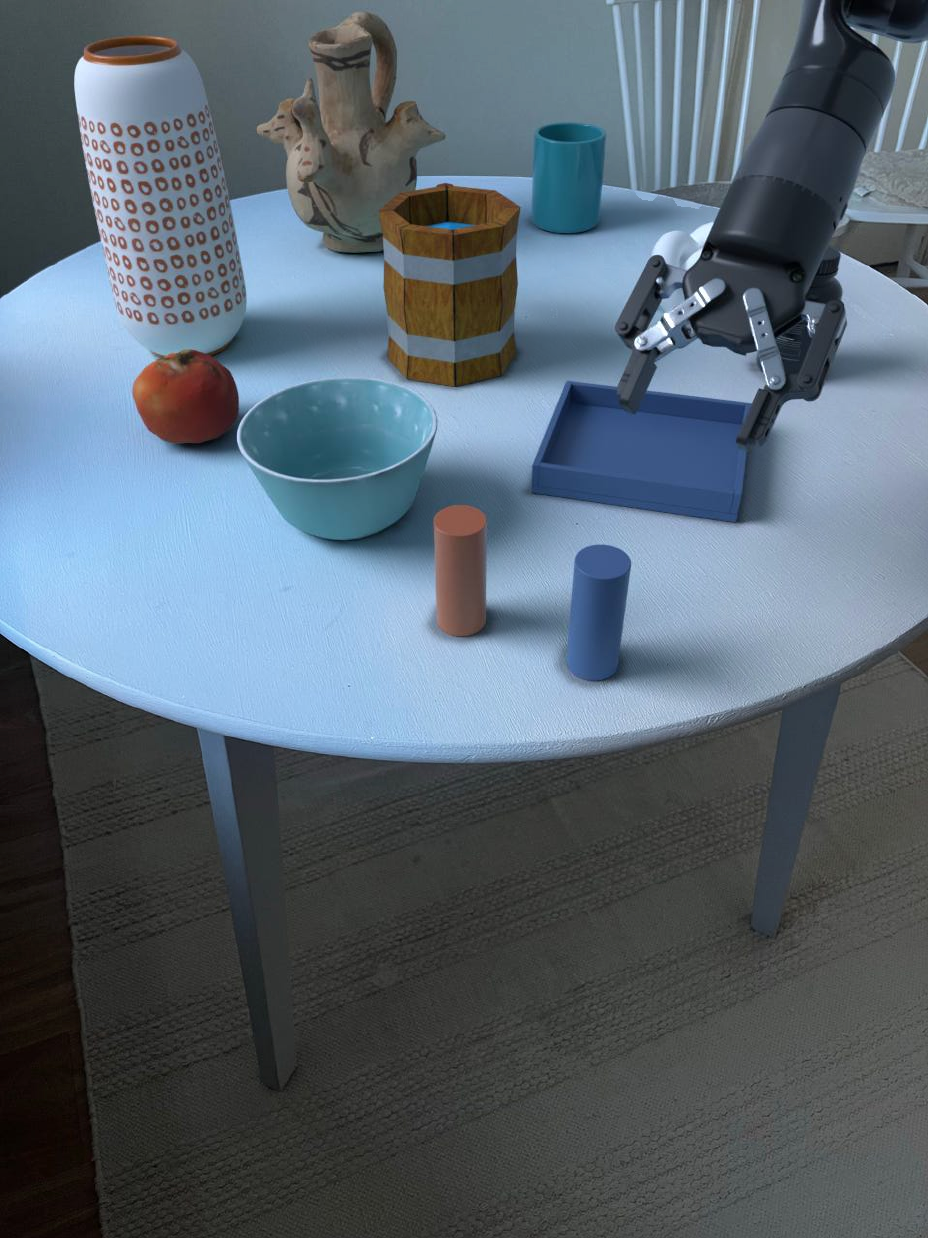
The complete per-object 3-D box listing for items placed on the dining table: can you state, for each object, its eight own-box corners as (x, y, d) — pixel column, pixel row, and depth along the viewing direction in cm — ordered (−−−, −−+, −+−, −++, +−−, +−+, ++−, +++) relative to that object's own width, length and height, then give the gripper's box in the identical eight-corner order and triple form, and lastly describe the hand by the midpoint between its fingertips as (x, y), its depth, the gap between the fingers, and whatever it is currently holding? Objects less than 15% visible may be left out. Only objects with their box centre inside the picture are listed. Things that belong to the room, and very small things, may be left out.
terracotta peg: (491, 608, 74) (492, 508, 68) (478, 640, 72) (479, 539, 66) (444, 600, 75) (442, 501, 69) (430, 631, 72) (426, 531, 67)
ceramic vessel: (267, 229, 132) (238, 11, 115) (402, 207, 138) (393, -4, 121) (311, 281, 119) (286, 44, 103) (457, 255, 125) (455, 26, 109)
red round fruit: (126, 430, 94) (105, 351, 89) (213, 398, 98) (198, 321, 93) (173, 471, 89) (154, 390, 83) (263, 436, 93) (250, 356, 88)
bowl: (265, 584, 77) (249, 494, 71) (241, 475, 88) (225, 390, 83) (462, 547, 80) (461, 459, 74) (414, 447, 91) (410, 364, 86)
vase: (162, 384, 100) (91, 72, 82) (105, 338, 108) (28, 43, 90) (276, 345, 107) (235, 47, 88) (215, 304, 115) (165, 22, 96)
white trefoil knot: (692, 349, 106) (705, 265, 100) (615, 310, 113) (622, 229, 107) (765, 320, 111) (781, 239, 105) (686, 285, 118) (697, 207, 112)
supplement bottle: (837, 376, 101) (868, 258, 93) (780, 389, 99) (807, 270, 91) (796, 348, 106) (822, 233, 98) (741, 359, 104) (763, 243, 96)
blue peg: (621, 650, 71) (635, 548, 65) (613, 685, 68) (627, 582, 62) (571, 641, 72) (580, 540, 66) (561, 675, 69) (570, 573, 63)
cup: (601, 204, 138) (608, 116, 131) (597, 236, 129) (605, 143, 122) (535, 201, 139) (539, 114, 132) (527, 233, 130) (531, 141, 123)
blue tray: (746, 429, 93) (752, 402, 91) (736, 522, 82) (742, 494, 80) (564, 406, 97) (566, 380, 95) (531, 492, 86) (532, 464, 84)
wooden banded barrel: (522, 384, 100) (528, 232, 90) (387, 388, 99) (377, 237, 90) (505, 301, 115) (508, 163, 105) (387, 305, 114) (378, 167, 104)
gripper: (674, 152, 66) (573, 378, 67) (890, 194, 60) (777, 443, 61) (697, 210, 73) (605, 415, 74) (893, 253, 67) (791, 477, 67)
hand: (683, 428), depth 67 cm, fingers open, 8 cm apart
